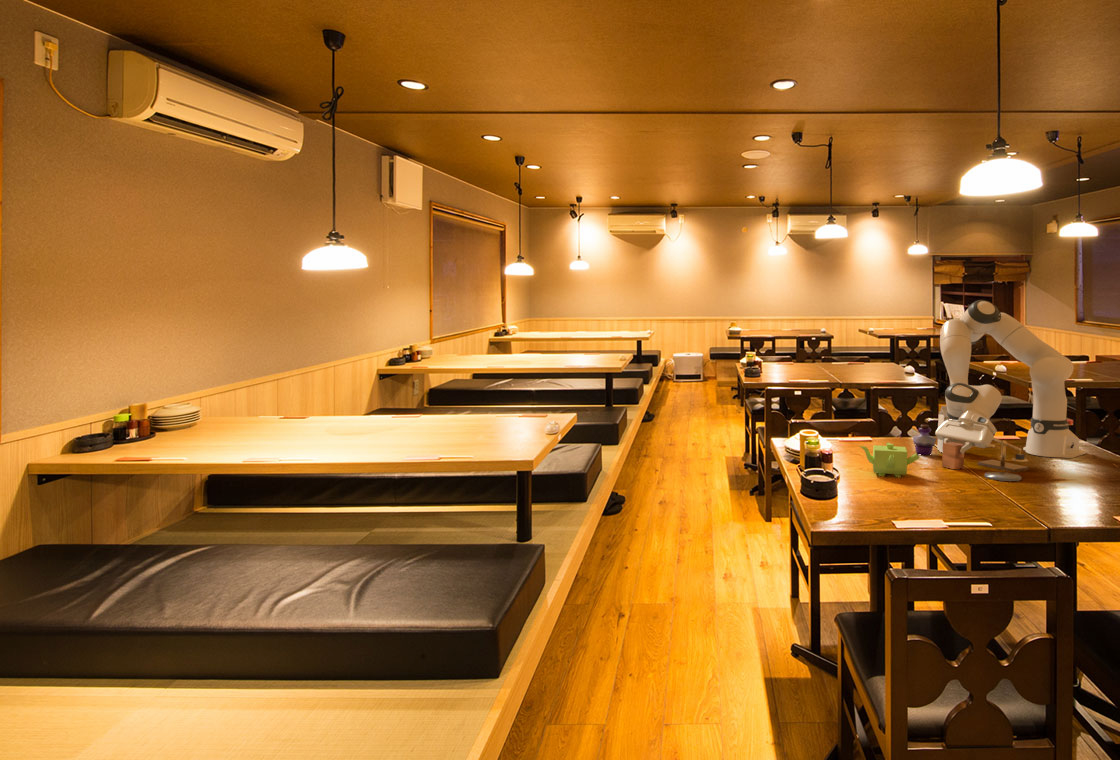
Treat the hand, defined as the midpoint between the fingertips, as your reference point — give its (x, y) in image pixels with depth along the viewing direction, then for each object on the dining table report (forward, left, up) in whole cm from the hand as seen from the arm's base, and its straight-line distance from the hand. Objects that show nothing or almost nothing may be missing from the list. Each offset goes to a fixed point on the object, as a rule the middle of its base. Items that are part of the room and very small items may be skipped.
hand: (952, 450), depth 269 cm
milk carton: (-23, -19, -7) cm, 30 cm away
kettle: (+27, -4, -7) cm, 28 cm away
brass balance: (-17, +8, -6) cm, 20 cm away
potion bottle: (-11, -21, -7) cm, 24 cm away
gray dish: (-3, +18, -6) cm, 19 cm away
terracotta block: (-1, 0, -6) cm, 6 cm away
